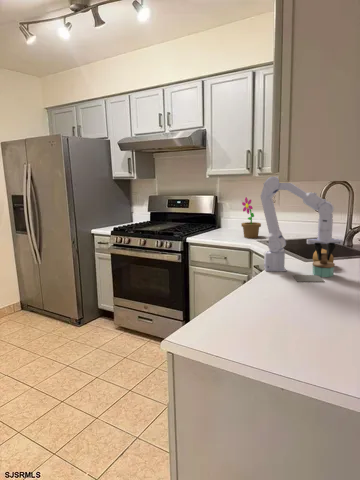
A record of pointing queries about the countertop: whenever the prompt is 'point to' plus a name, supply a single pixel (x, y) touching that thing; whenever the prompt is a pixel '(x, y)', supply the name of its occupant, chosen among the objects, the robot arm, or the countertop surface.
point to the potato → (315, 257)
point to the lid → (323, 262)
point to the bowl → (323, 271)
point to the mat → (308, 278)
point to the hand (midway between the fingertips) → (323, 259)
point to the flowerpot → (250, 227)
